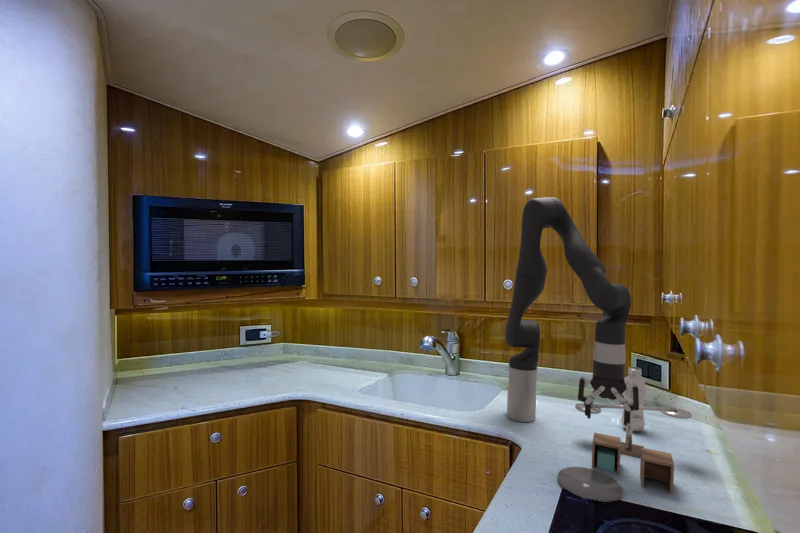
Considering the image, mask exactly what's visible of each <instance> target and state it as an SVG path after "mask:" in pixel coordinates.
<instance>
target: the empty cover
mask: <svg viewBox="0 0 800 533" xmlns="http://www.w3.org/2000/svg"><path fill="white" fill-rule="evenodd" d="M639 468H640V469H639V476H640V477H639V478H640V480H639V481H640V486H641V488H644V486H645V485H644V484H645V478H649V479H652V480H657V481H662V482H666V483H667V486H668V488H669V489H668V490H669V494H670V495H673V494H674V479H675V478H674V477H675V462H674V459H673V455H672V453H670V452H665V451H661V450H655V449H650V448H646V447H644V448H642V447H641V458H640V465H639Z"/></svg>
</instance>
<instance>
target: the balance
mask: <svg viewBox="0 0 800 533" xmlns="http://www.w3.org/2000/svg"><path fill="white" fill-rule="evenodd" d="M574 406H575V408H574V409H576V411H578V412H580V413H584V414H585V403H584V402H582V403H581V402H579V403H576V404H574ZM602 409H615V410H616V409H618V410H624V409H625V408H624V407H623V406H622V404H603V403H602V404H601V403H594V400H593V401H592V402H591V414H592V415H595V414H601V413H602ZM639 410H643V411H656V412H657V411H659V412H661V414H663V415H666V416H669V417H670V418H671V417H672V418H676V419H681V420H682V419H684V420H688V419H691V418H692V413H691V412H690V411H688V410H686V409H683V408H678V407H672V406H649V405H647V406H646V405H645V406H644V405H643V406H639ZM633 432H634V431H633V411H631V412H630V423H629V424H627V426H626V429H625V442H623V441H621V448H620V455H627V456H631V457H635V458H636V457H637V458H640V459H641V447H642V448H645V446H644V445H639V444H634V443H633Z"/></svg>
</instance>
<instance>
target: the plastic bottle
mask: <svg viewBox="0 0 800 533" xmlns="http://www.w3.org/2000/svg"><path fill="white" fill-rule="evenodd" d="M642 372H643V371H642V368H640V367H636V366H629V367H628V371H627V374H628V375H627V376H625V384H626V385H634V384H636V385H637V386H638V394H639V406H644V399H645V394H646V388H647V385H646V382H645V381H644V379H643V377H642V376H643V374H642ZM623 396H624V397H625V399H626V400H627V402H628V403H629V404H633V394H630V392H629V390H628V389H626V390H625V391H624V392H623ZM622 410H623V411H622V415H621V419H620V420H621V425H622V427H623V428H624V429H625V430H626V425H624V409H622ZM645 424H646V423H645V417H644V410H633V431H632V432H636V433H639V432H643V430H644V429H645Z"/></svg>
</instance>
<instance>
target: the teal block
mask: <svg viewBox="0 0 800 533" xmlns="http://www.w3.org/2000/svg"><path fill="white" fill-rule="evenodd" d="M596 468H599V469H603V470H608V471H612V472H615V450H613V449H608V448H603V447H599V446H598V454H597V459H596Z"/></svg>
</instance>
